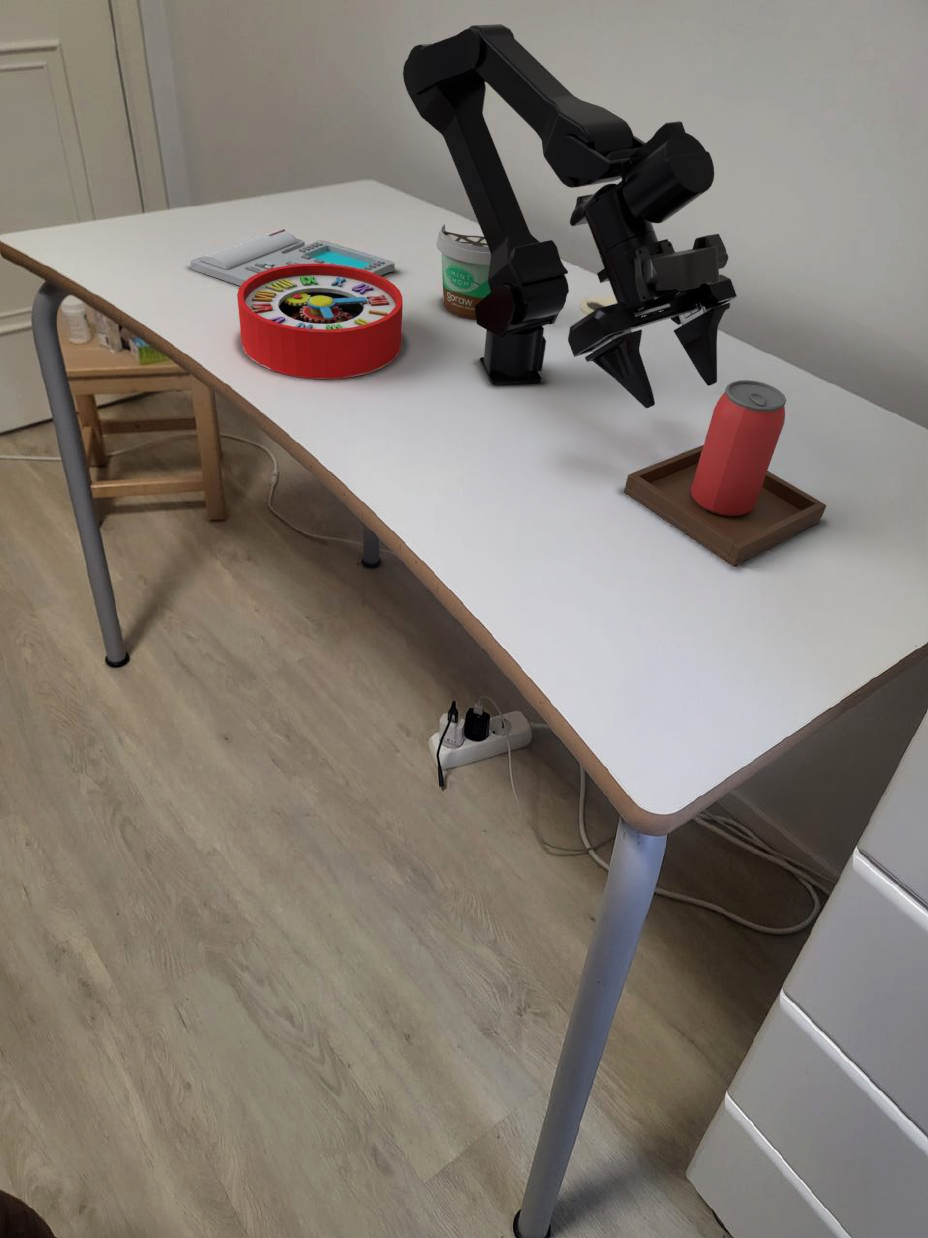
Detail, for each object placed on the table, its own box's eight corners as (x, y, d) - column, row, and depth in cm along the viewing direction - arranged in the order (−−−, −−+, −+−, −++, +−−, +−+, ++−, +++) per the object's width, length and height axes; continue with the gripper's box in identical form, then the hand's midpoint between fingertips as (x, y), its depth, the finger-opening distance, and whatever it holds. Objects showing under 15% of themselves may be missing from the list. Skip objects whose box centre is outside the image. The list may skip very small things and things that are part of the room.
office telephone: (186, 251, 125) (281, 218, 138) (189, 270, 127) (282, 235, 140) (314, 294, 116) (402, 254, 129) (315, 313, 118) (402, 272, 131)
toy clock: (225, 267, 111) (378, 259, 117) (230, 312, 115) (377, 302, 121) (252, 338, 98) (423, 324, 104) (256, 386, 102) (421, 370, 108)
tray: (623, 491, 91) (627, 474, 90) (710, 456, 98) (715, 439, 96) (733, 566, 83) (740, 548, 81) (819, 522, 89) (827, 504, 88)
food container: (419, 311, 121) (422, 236, 115) (436, 296, 126) (440, 222, 119) (502, 331, 118) (510, 255, 112) (517, 315, 123) (526, 241, 116)
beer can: (698, 519, 87) (732, 409, 79) (682, 482, 92) (712, 375, 84) (762, 520, 88) (802, 412, 80) (743, 484, 93) (778, 378, 85)
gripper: (610, 220, 76) (673, 391, 78) (749, 191, 85) (803, 345, 87) (540, 277, 86) (597, 428, 88) (671, 245, 95) (721, 383, 96)
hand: (682, 395), depth 89 cm, fingers open, 9 cm apart
